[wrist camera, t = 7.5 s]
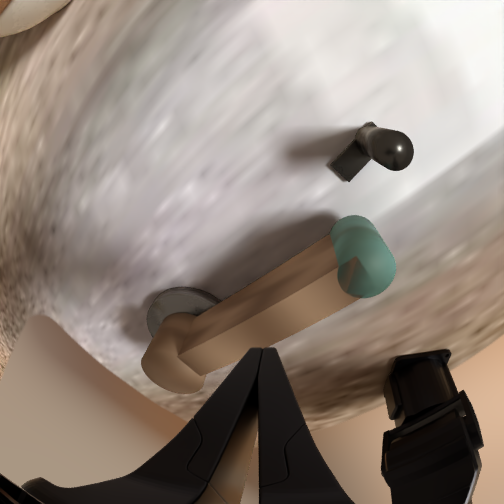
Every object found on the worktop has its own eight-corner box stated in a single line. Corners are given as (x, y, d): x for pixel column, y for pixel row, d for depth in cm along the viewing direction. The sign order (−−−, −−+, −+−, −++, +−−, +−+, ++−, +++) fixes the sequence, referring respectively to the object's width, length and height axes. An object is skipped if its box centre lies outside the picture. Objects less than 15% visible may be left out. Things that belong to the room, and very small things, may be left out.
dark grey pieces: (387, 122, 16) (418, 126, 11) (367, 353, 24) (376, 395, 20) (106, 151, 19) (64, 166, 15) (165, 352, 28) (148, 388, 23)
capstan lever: (189, 361, 26) (175, 399, 22) (150, 326, 24) (130, 362, 20) (389, 252, 18) (410, 289, 14) (352, 192, 17) (370, 217, 13)
